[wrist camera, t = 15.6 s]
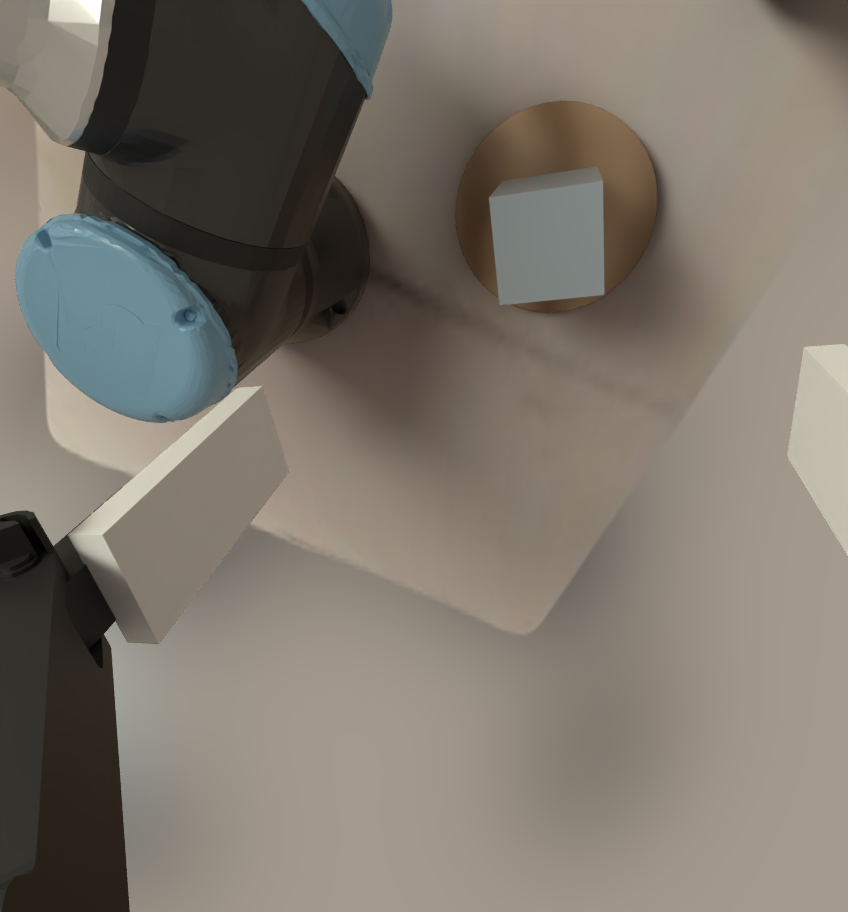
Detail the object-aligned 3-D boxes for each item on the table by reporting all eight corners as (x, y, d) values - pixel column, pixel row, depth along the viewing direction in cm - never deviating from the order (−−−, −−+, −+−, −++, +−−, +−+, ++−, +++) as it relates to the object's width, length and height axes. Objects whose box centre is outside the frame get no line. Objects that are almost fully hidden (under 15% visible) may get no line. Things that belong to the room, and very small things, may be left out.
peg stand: (470, 314, 49) (446, 367, 39) (446, 120, 42) (409, 127, 32) (652, 297, 45) (674, 350, 36) (657, 82, 39) (687, 76, 29)
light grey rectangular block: (510, 272, 42) (499, 305, 36) (502, 181, 39) (489, 197, 33) (598, 262, 41) (604, 294, 34) (597, 166, 38) (602, 180, 31)
